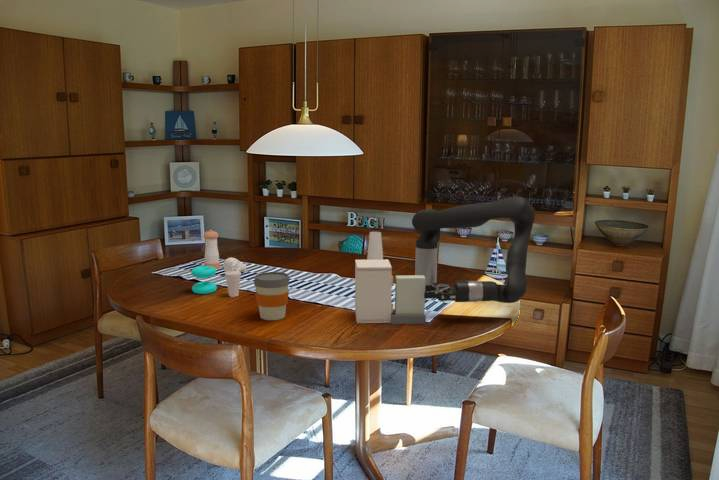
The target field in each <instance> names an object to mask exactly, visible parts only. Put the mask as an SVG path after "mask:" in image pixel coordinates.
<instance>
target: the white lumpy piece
mask: <svg viewBox="0 0 719 480" xmlns="http://www.w3.org/2000/svg"><path fill="white" fill-rule="evenodd" d="M231 262H232V263H233V271H240V272H244V273H245V272H247V271H246V270H247V265H246V264H245V263H243V262H241V261H240V260H239V259H237V258H235V257H227V258H226V259H225V260H224V262H223V264H222V267H223V270H224V273H225V272H228V271H231Z"/></svg>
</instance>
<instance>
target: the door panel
mask: <svg viewBox="0 0 719 480" xmlns="http://www.w3.org/2000/svg"><path fill="white" fill-rule="evenodd" d="M394 278H395V279H394V280H395V281H394V284H395V286H394V287H395V288H394V292H395V293H394V309H395V315H426V313H425V312H426V311H425V310H426V309H425V308H426V307H425V306H426V305H425V304H426V299H425V298H424V292H425V277H424V275H415V274H414V275H413V274H412V275H409V274H408V275H395V277H394Z"/></svg>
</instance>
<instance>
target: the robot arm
mask: <svg viewBox="0 0 719 480" xmlns="http://www.w3.org/2000/svg"><path fill="white" fill-rule="evenodd" d="M535 218H536V211H535V208H534V207H533V206H532V204H530V202H529V201H528V200H527V199H526V198H525V197H522V196H512V197H506V198H504V199H498V200H494V201H488V202H481V203H469V204H463V205H457V206H453V207H449V208H446V209H442V210H436V209H433V208H428V209H423V210H419V211H417V212H415V214H414V215H413V217H412V218H411V224H412V227H413V228H414V229H415V230H416V231H418V232H419V233H420V235H419V237H418V238H417V239H416V240H415V265H414V271H415V273H414V275H424V277H425V292H424V298H425V300H428V299H432V300H433V299H435V300H437V301H438V302H444V301H445V302H446V301H447V302H449V301H450V302H451V301H454V302H455V303H477V302H498V303H504V304H513V303H517V302H518V301H520V300H521V299H522V298H523V297H524V295H525V294H526V292H527V286H528V283H527V273H526V270H527V257H528V248H529V243H530V237H531V233H532V229H533V227H534V226H533V225H534V222H535ZM494 219H509V220H510V221H511V222H512V223H513V225H514V234H513V235H514V237H513V239H512V242H511V244H510V246H509V247H508V250H507V253H506V259H505V260H506V261H505V272H506V274H507V280H506V284H497V282H495V281H489V280H487V281H485V280H482V281H479V280H455V281H454V282H453V285H449V283H446V282H437V278H438V276H437V274H438V245H439V242H440V237H441V229H468V228H469V229H470V228H476V227H477V228H478V227H481V226H483V225H485V224H486V223H488V222H489V221H491V220H494Z"/></svg>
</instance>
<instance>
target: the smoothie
mask: <svg viewBox="0 0 719 480" xmlns="http://www.w3.org/2000/svg"><path fill="white" fill-rule="evenodd" d="M224 276H225V280H226V285H227V291H228V297H229V296H230V297H229V298H235V297H236V296H237V297H238V296H239V294H240V292H239V291H240V285H241V283H240V282H241V280H240V279H241V276H242V273H241V272H240V271H233V263H232V262H231V271H228V272H225V271H224Z"/></svg>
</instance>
